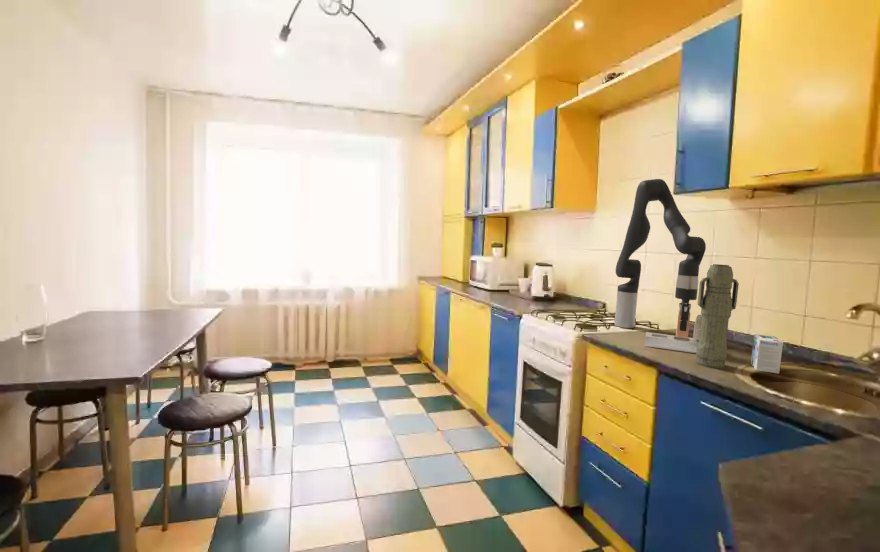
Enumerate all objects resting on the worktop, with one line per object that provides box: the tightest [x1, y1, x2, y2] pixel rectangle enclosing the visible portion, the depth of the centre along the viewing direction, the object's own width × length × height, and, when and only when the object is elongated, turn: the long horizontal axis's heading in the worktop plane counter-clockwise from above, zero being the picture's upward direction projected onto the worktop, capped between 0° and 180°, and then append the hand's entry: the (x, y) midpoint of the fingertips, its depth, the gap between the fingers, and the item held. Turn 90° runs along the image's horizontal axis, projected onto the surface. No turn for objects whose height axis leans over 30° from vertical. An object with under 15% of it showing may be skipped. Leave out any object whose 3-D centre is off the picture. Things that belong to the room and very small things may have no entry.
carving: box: [692, 314, 702, 339], centre depth 188 cm, size 6×8×12 cm
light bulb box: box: [750, 334, 784, 374], centre depth 153 cm, size 11×7×11 cm, turn 154°
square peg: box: [675, 310, 691, 338], centre depth 176 cm, size 4×4×10 cm
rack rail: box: [644, 331, 700, 354], centre depth 176 cm, size 10×26×4 cm, turn 64°
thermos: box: [695, 263, 739, 369], centre depth 153 cm, size 9×12×35 cm
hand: (682, 329), depth 176 cm, fingers closed on square peg, 4 cm apart
